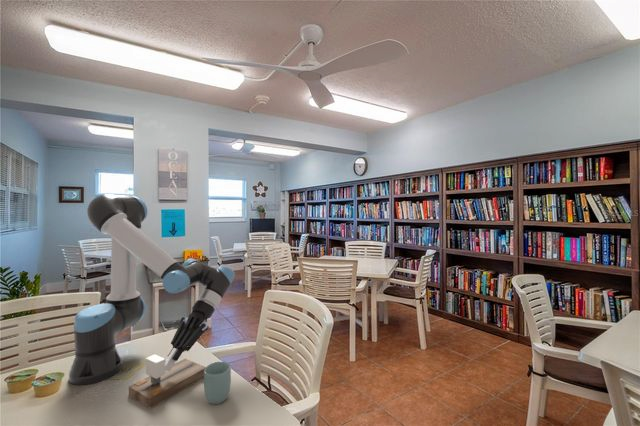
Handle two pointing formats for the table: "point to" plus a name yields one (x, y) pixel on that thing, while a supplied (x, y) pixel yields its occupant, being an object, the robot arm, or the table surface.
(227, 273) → the robot arm
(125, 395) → the table surface
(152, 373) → the fader knob
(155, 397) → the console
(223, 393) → the cup
